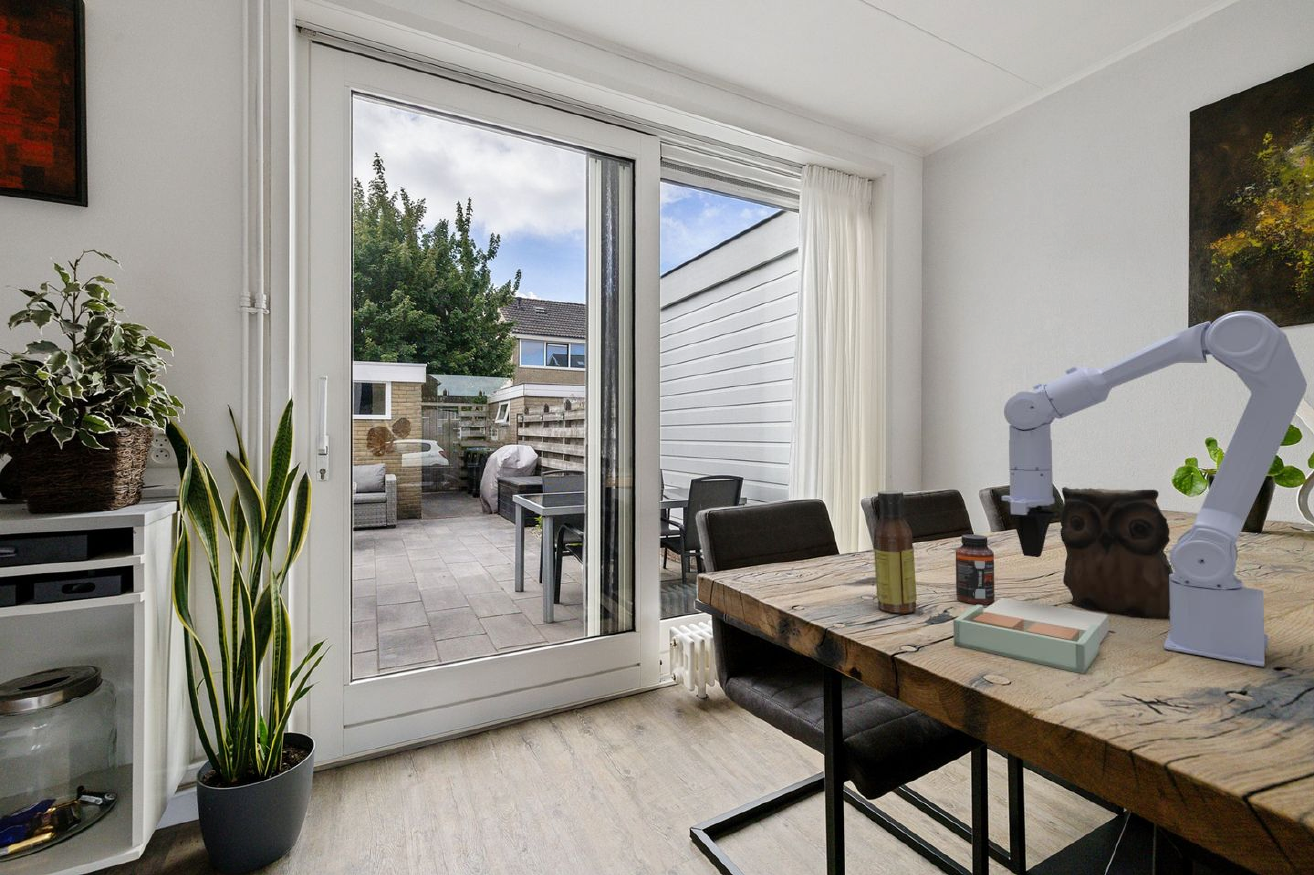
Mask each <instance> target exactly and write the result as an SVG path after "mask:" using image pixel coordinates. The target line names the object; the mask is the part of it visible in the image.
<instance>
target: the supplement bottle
mask: <svg viewBox="0 0 1314 875" xmlns="http://www.w3.org/2000/svg"><path fill="white" fill-rule="evenodd" d="M960 543H961V544H962V545H960V546H959V547H957V548H956V549H955V588H956V589H955V590H956V592H955V593H956V598H957V599H958V600H960V601H961V602H965V603H968V604H975V605H977V604H978V605H991V604H993V603H994V602H995V555H994V552H993V550H992V549H991V548H989V547H988V537H987V536H986V535H981V534H963V535H961V541H960Z"/></svg>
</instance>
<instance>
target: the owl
mask: <svg viewBox="0 0 1314 875" xmlns="http://www.w3.org/2000/svg"><path fill="white" fill-rule="evenodd" d="M1061 492H1062V493H1061V494H1062V496H1063V501H1064V502H1063V508H1062V510H1061V512H1060V517H1059V518H1060V522H1059V523H1060V526H1061V529H1060V538H1061V541H1062V543H1063V545H1064V548H1065V550H1066V558H1065V562H1064V565H1065V566H1064V567H1065V568H1064V572H1063V578H1062V580H1063V584H1064V586H1066V588H1068V590H1069V592H1070V594H1071V596H1072V599H1071V602H1070V603H1069V604H1070V605H1071V606H1075V607H1077V608H1080V609H1082V610H1084V611H1088V612H1097V613H1099V612H1100V613H1106V614H1107V615H1117V616H1124V617H1128V618H1132V619H1133V618H1138V619H1139V618H1140V619H1164V620H1165V619H1166V620H1170V593H1169V579H1170V578H1169V575H1170V574H1172V573H1174V571H1173V568H1172V565H1171V563H1170V561H1169V560H1168V556H1167V554H1166V553H1165V551H1164V550H1165V548H1166V547H1167V545H1169V543H1170V541H1171V538H1170V537H1169V536H1170V533H1171V532H1170V528H1169V523H1168V519H1167V517H1165V516H1164V514H1163V512H1162V511H1161V509H1160V507H1159V505H1158V503H1157V499H1158V497H1159V493H1160V492H1159V491H1158V490H1156V489H1136V490H1132V489H1108V488H1096V489H1095V488H1091V487H1090V488H1068V487H1066V486H1064V487H1062V488H1061Z"/></svg>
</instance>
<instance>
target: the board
mask: <svg viewBox="0 0 1314 875" xmlns="http://www.w3.org/2000/svg"><path fill="white" fill-rule="evenodd" d="M984 612H989V613H994V614H999V615H1005V616H1010V617H1015V618H1021V619H1024V632H1026V630H1027V629H1029V628H1030V627H1031V626H1032V625H1033V624H1034V623H1035V622H1039V623H1044V624H1050V625H1055V626H1061V627H1067V628H1072V629H1078V630H1079V639H1080V638H1081V636H1082V635H1083V634H1084V633H1085V632H1086V630H1087V629H1088V628H1089V627H1090V626H1091V624H1094V625H1099V645H1100V644H1101V643H1102V641H1103V640H1104V639H1105V637H1106V636H1107V634H1109V614H1105V613H1099V612H1094V611H1088V610H1080V609H1074V608H1067V607H1061V606H1057V605H1056V606H1055V605H1048V604H1043V603H1035V602H1030V601H1029V602H1028V601H1023V600H1017V599H1012V598H1005V597H1000V598H999V599H998V600H996V601H994V602H992V603H991V604H989V606H987V607H986V608H983V613H984Z"/></svg>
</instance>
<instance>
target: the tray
mask: <svg viewBox="0 0 1314 875" xmlns="http://www.w3.org/2000/svg"><path fill="white" fill-rule="evenodd" d="M983 610H984V604H975V605H974V606H973V607H971V608H969V609H968V610H966V611H965V612H963V613H962V614H960V615H959V616H957V617H956V618H954V619H953V620H952V621H953V624H952V625H953V645H954V646H956V647H957V646H958V647H961V648H965V649H970V650H975V651H979V652H984V653H989V654H994V655H999V656H1002V657H1007V658H1010V659H1016V660H1020V661H1025V662H1029V663H1033V664H1037V665H1043V666H1048V667H1052V668H1055V669H1056V668H1057V669H1061V670H1065V671H1071V672H1075V673H1078V674H1082V675H1084V674H1085V673H1086V672H1087V670H1088V669H1089V667H1090V666H1091V664H1092V663H1093V662H1094V660H1095V659H1096V657H1097V655H1099V653H1100V644H1099V625H1094V624H1091V626H1090V627H1089V628H1088V629H1087V630H1086V632H1085V633H1084V634H1083V635H1082V636H1081V638H1080V639H1079V640H1078V641H1077V642H1075V641H1070V640H1064V639H1059V638H1054V637H1049V636H1044V635H1038V634H1033V633H1028V632H1023V631H1018V630H1012V629H1007V628H1002V627H997V626H991V625H986V624H981V623H976V622H973V619H974V618H976V617H978V616H979V615H981V614H983Z"/></svg>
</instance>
